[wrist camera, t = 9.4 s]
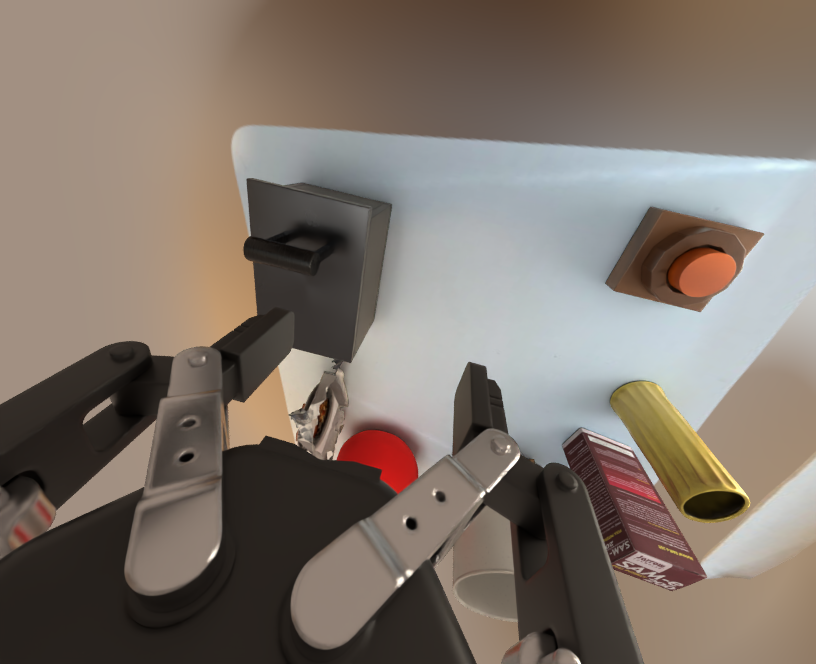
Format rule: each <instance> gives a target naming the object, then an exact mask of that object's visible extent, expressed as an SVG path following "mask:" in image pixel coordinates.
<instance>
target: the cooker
mask: <svg viewBox="0 0 816 664" xmlns="http://www.w3.org/2000/svg"><path fill="white" fill-rule="evenodd" d="M283 186H288V187H292V188H296V189H300V190H304V191H308V192H312V193H317V194H321V195H325V196H329V197H333V198H337V199H341V200H346V201H350V202H354V203H358V204H362V205H366V206H370V207H372V212H371V220H370V228H369V236H368V244H367V252H366V260H365V268H364V276H363V284H362V292H361V300H360V308H359V316H358V324H357V332H356V339H355V347H354V355H353V358H354V356H355V354H356V353H357V351H358V349H359V347H360V345H361V343H362V341H363V340H364V338H365V336H366V334H367V332H368V330H369V328H370V327H371V325H372V323H373V321H374V317H375V311H376V304H377V298H378V292H379V285H380V279H381V273H382V266H383V260H384V254H385V247H386V241H387V235H388V228H389V222H390V216H391V209H392V204H389V203H385V202H380V201H376V200H372V199H368V198H364V197H360V196H356V195H351V194H347V193H343V192H339V191H335V190H331V189H326V188H322V187H318V186H314V185H310V184H306V183H297V184H290V185H283Z"/></svg>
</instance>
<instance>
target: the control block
mask: <svg viewBox="0 0 816 664" xmlns="http://www.w3.org/2000/svg"><path fill="white" fill-rule="evenodd" d="M763 235H764V233H761V232H757V231H753V230H748V229H744V228H740V227H736V226H732V225H727V224H723V223H719V222H715V221H710V220H706V219H702V218H697V217H693V216H689V215H685V214H680V213H676V212H672V211H668V210H663V209H659V208H655V207H650V208H649V210H648V212H647V213H646V215H645V217H644V218H643V220H642V222H641V223H640V225H639V227H638V229H637V230H636V232H635V234H634V235H633V237H632V239H631V240H630V242H629V244H628V245H627V247H626V249H625V251H624V252H623V254H622V256H621V257H620V259H619V261H618V262H617V264H616V266H615V267H614V269H613V271H612V273H611V274H610V276H609V278H608V279H607V281H606V283H605V284H606V285H608V286H609V287H610V288H611V289H612V290H613V291H616V292H620V293H624V294H628V295H632V296H637V297H641V298H645V299H649V300H653V301H657V302H661V303H665V304H669V305H673V306H677V307H682V308H686V309H690V310H694V311H698V312H701V311H702V310H703V308H704V307H705V306H706V305H707V304H708V302H709V301H710V300H711V299H712V297H713V296H715V295H717V294H719V293H720V292H722V291H724V290H725V289H727V288H728V286H729V285H730V284H731V283H732V282H733V280H734V279H735V278H736V277H737V276H738V274H739V273H740V272H741V270H742V268H743V263H744V258H745V257H746V256H747V255H748V254H749V252H750V251H751V250H752V249H753V247H754V246H755V245H756V244H757V243H758V241H759V240H760V239H761V238H762V236H763ZM703 247H704V248H711V249H714V250H717V251H720V252H722V253H725V254H728V255H730V256H731V257H732V258H733V259H734V261H735V263H736V271H735V274H734V276H733V278H732V279H731V281H730V282H729V283H728V284H727V285H726V286H725V287H724V288H722V289H721V290H719V291H717V292H716V293H713V294H711V295H708V296H703V297H691V296H688V295H686V294H684V293H682V292H681V291H679V290H677V289H676V288H674V287H673V286H672V285H671V284H670V283H669V281H668V271H669V269H670V267H671V265H672V264H673V262H674V261H675V260H676V259H677V258H678V257H679V256H681V255H682V254H684V253H685V252H687V251H690V250H692V249H696V248H703Z"/></svg>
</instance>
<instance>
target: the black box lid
mask: <svg viewBox="0 0 816 664" xmlns="http://www.w3.org/2000/svg"><path fill="white" fill-rule="evenodd" d="M247 191H248V203H249V216H250V228H251V236H250V237H248V238H247V240H246V241H245V243H244V255H245V258H246V259H248V260H250V261H253V265H254V278H255V290H256V303H257V315H260V314H262V315H265V314H267V313H268V312H269V311H270V310H272V309H273V308H275V307H278V308H282V309H285V310H289V311H292V312H293V313H294V343H293V346H292V348H295V349H299V350H302V351H306V352H310V353H314V354H318V355H322V356H326V357H329V358H333V359H337V360H341V361H345V362H349V363H351V362H352V360H353V355H354V347H355V339H356V332H357V324H358V316H359V308H360V300H361V292H362V284H363V276H364V268H365V260H366V252H367V244H368V236H369V228H370V220H371V212H372V207H370V206H366V205H362V204H358V203H354V202H350V201H346V200H341V199H337V198H333V197H329V196H325V195H321V194H317V193H312V192H308V191H304V190H300V189H296V188H292V187H288V186H283V185H279V184H275V183H271V182H267V181H263V180H259V179H255V178H248V179H247Z"/></svg>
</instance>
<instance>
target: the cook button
mask: <svg viewBox="0 0 816 664" xmlns="http://www.w3.org/2000/svg"><path fill="white" fill-rule="evenodd" d="M735 271H736V263H735V261H734V259H733V258H732V257H731V256H730V255H728V254H725V253H722V252H720V251H717V250H714V249H711V248H704V247H703V248H696V249H692V250H690V251H687V252H685V253H684V254H682V255H681V256H679V257H678V258H677V259H676V260H675V261H674V262H673V264H672V265H671V267H670V269H669V271H668V281H669V283H670V284H671V285H672V286H673V287H674V288H676V289H677V290H679V291H681V292H682V293H684V294H686V295H688V296H691V297H703V296H708V295H711V294H713V293H716V292H717V291H719V290H721V289H722V288H724V287H725V286H726V285H727V284H728V283H729V282H730V281H731V279H732V278H733V276H734V274H735Z"/></svg>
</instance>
